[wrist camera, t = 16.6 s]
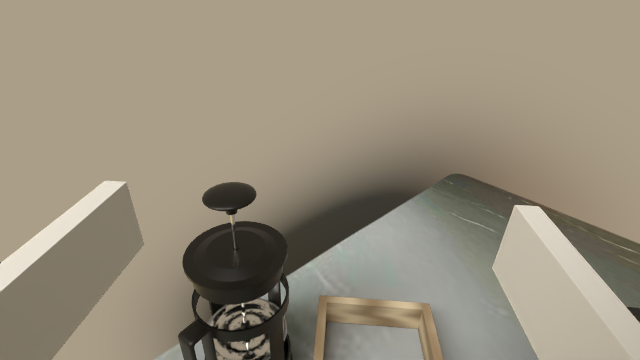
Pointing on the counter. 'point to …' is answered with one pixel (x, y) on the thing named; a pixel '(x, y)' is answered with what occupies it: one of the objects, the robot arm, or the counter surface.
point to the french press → (237, 284)
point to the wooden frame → (378, 320)
